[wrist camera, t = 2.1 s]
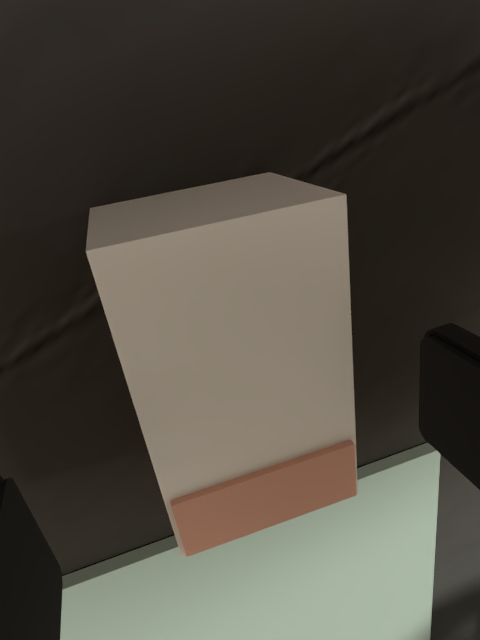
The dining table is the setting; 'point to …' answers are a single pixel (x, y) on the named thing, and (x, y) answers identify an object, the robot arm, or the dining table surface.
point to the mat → (281, 573)
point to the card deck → (234, 348)
